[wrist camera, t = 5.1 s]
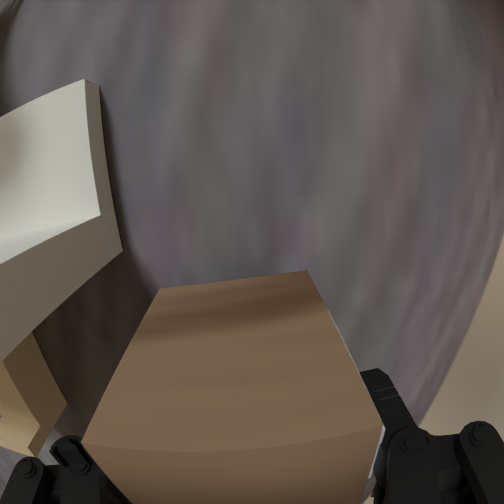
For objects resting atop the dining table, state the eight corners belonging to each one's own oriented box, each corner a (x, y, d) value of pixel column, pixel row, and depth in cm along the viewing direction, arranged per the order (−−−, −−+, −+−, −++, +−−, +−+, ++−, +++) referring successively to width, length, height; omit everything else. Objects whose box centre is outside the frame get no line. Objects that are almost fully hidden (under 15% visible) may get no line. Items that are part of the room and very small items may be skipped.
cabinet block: (159, 288, 12) (80, 443, 5) (306, 270, 12) (383, 424, 5) (196, 409, 15) (178, 546, 7) (312, 397, 14) (346, 534, 7)
